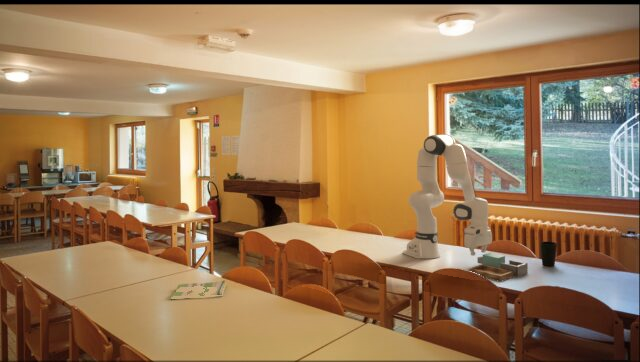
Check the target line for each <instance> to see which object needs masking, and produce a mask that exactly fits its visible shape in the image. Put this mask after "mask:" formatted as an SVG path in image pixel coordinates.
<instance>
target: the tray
mask: <svg viewBox="0 0 640 362" xmlns="http://www.w3.org/2000/svg"><path fill="white" fill-rule="evenodd" d="M468 270H469V271H472V272H475V273H477V274H480V275H482V276H484V277H483V278H486V277H487V279H490V278H491V280H493V279H494V281H497V280H498V281H497V282H502V280H503V281H505V279H506V280H508V279H511V278H513V276H514V272H513V271H509V270H504V269H500V268H496V267H491V266H487V265H483V264H479V265H475V266H472V267H470V268H468ZM482 276H481V277H482ZM510 277H511V278H510ZM514 277H515V276H514Z"/></svg>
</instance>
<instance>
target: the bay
mask: <svg viewBox="0 0 640 362" xmlns="http://www.w3.org/2000/svg"><path fill="white" fill-rule="evenodd" d="M508 261H509V262H508V263H506V262H505V263H500V269H504V270H509V271H513V272H514V277H516V276H517V277H516V278H519V277H521V275H522V276H524V275H526V273H527V274H528V273H529V272H528V271H529V270H528V269H529V268H528V266H529V265H528V262H522V261H517V260H513V259H509V260H508ZM518 276H519V277H518Z"/></svg>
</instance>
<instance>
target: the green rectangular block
mask: <svg viewBox="0 0 640 362" xmlns="http://www.w3.org/2000/svg"><path fill="white" fill-rule="evenodd" d="M500 263H505V264H506V256H505V255H502V254H497V253H491V252H488V253H484V254H482V256H478V257H477V264H479V265H482V264H483V265H487V266H491V267H496V268H500Z"/></svg>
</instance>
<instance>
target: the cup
mask: <svg viewBox="0 0 640 362" xmlns="http://www.w3.org/2000/svg"><path fill="white" fill-rule="evenodd" d="M557 247H558V243H557V242H554V241H540V255H541V265H542V266H543V267H545V268H553V267H555V265H556V255H557Z"/></svg>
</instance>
